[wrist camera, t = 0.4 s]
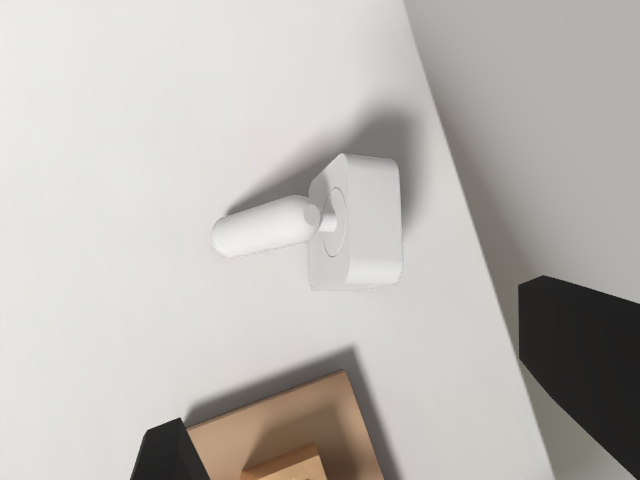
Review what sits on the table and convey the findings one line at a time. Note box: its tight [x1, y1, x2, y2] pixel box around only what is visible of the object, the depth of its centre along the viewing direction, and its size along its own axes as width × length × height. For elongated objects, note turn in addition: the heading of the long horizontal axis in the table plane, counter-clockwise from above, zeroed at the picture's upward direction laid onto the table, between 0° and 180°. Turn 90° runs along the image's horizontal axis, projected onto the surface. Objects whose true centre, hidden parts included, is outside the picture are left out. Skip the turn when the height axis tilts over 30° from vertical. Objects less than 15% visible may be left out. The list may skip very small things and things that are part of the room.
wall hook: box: [211, 153, 403, 292], centre depth 32 cm, size 8×10×10 cm
